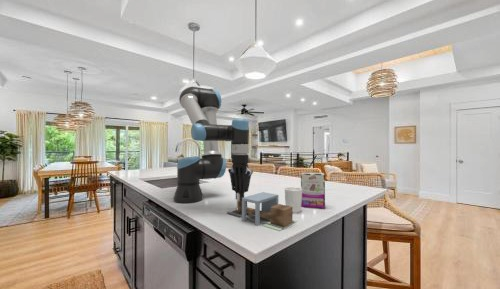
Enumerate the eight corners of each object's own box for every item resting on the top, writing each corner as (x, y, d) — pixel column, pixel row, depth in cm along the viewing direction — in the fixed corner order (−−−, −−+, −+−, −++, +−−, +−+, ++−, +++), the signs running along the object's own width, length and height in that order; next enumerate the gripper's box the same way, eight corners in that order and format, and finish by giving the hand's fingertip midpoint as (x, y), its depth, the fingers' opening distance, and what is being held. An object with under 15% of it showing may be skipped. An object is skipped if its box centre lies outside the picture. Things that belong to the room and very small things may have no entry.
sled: (236, 213, 93) (236, 199, 93) (246, 210, 97) (246, 196, 97) (284, 227, 78) (284, 210, 78) (292, 222, 82) (292, 206, 82)
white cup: (282, 211, 97) (282, 189, 97) (287, 207, 104) (287, 186, 104) (299, 214, 93) (299, 191, 93) (304, 209, 100) (304, 188, 100)
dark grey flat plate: (226, 213, 94) (226, 213, 94) (241, 208, 102) (241, 208, 102) (239, 217, 89) (239, 217, 89) (255, 211, 97) (255, 211, 97)
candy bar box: (324, 206, 106) (324, 172, 106) (325, 209, 101) (325, 174, 101) (301, 204, 109) (301, 171, 109) (300, 207, 105) (300, 173, 105)
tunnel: (222, 214, 93) (223, 193, 93) (244, 207, 103) (244, 188, 103) (278, 231, 75) (278, 205, 75) (297, 221, 85) (297, 198, 85)
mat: (262, 225, 80) (262, 224, 80) (280, 217, 89) (280, 216, 89) (279, 231, 75) (279, 230, 75) (296, 221, 84) (296, 221, 84)
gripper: (223, 153, 97) (223, 206, 97) (245, 155, 89) (245, 212, 89) (235, 153, 103) (235, 202, 103) (257, 154, 94) (256, 208, 94)
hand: (239, 207), depth 96 cm, fingers closed
